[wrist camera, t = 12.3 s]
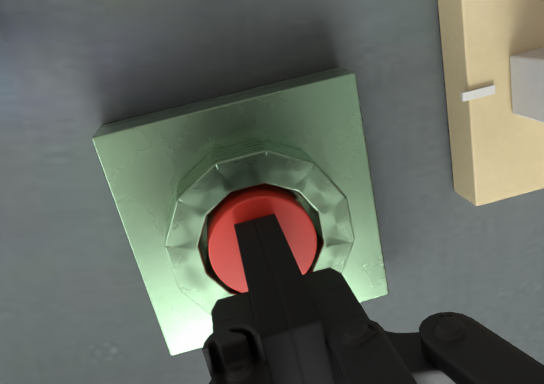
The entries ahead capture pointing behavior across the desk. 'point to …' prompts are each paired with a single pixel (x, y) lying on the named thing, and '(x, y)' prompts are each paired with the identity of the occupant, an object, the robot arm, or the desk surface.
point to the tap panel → (490, 97)
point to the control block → (239, 175)
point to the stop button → (251, 207)
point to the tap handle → (528, 84)
